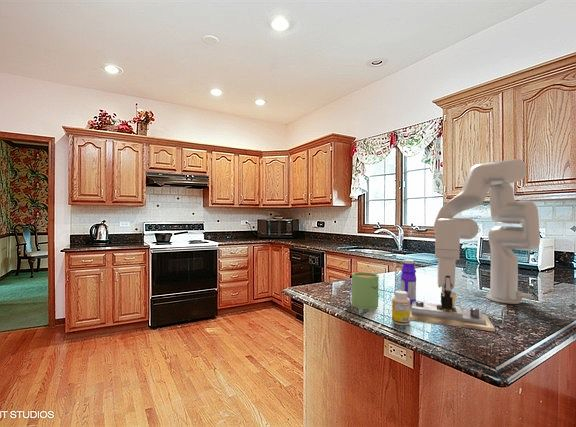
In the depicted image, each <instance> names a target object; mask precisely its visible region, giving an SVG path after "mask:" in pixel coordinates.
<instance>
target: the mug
mask: <svg viewBox="0 0 576 427" xmlns="http://www.w3.org/2000/svg"><path fill="white" fill-rule="evenodd" d="M379 278H380V277H379V274H377V273H374V272H373V273H372V272H363V271H362V272H361V271H360V272H359V271H358V272H352V274H351V306H353V307H354V308H357V309H361V310H362V309H363V310H374V308H375V309H377V307H379V297H380V295H379V286H380V283H379Z"/></svg>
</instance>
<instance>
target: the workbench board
mask: <svg viewBox="0 0 576 427" xmlns="http://www.w3.org/2000/svg"><path fill="white" fill-rule="evenodd" d="M482 315H483V317H484V319H485V320H486V325H484V324H477V323H470V322H462V321H455V320H448V319H440V318H433V317H426V316H419V315H412V305H410V321H419V322H425V323H433V324H439V325H440V324H441V325H445V324H446V325H447V326H452V325H453V327H460V328H467V329H475V330H481V331H489V332H494V333H495V331H496V328H495V326H494V325H493V323H492V321H491V320H490V318H489V317H488V315H487V314H482Z"/></svg>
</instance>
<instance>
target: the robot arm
mask: <svg viewBox="0 0 576 427" xmlns="http://www.w3.org/2000/svg"><path fill="white" fill-rule="evenodd" d="M527 171H528V170H527V164H526V163H525V161H523V160H522V159H519V158H517V159H515V158H514V159H506V160H499V161H490V162H484V163H483V162H482V163H478V164H475V165H472V167H470V169H469V171H468V173H467V175H466V177H465V180H464V182H463V185H462V187H461V189H460V192H459V193H458V194H457V195H456V196H454V197H452V198H451V199H450V200H448V202H446V203H445V204H444V205H443V206H442V207H441V208H440V210H439V211H438V214H437V216H436V218H435V221H434V224H433V231H434V234H435V237H434V239H435V242H434V243H435V244H434V245H435V246H434V247H435V249H434V258H435V259H438V260H437V282H436V283H437V287H438V289H439V288H440V289H441V292H440V303H441V302H442V308H443V309H451V310H452V301H453V298H452V292H453V290H454V288H455V286H456V284H455V282H456V261H458V260H460V255H461V254H460V252H461V251H460V250H461V249H460V244H461V241H460V240H472V239H474V238H475V237H476V236H477V235H478V233H479V224H478V223H477V222H476V221H475V220H474V219H472V218H465V217H464V218H462V217H461V218H460V217H455V216H456V215H458V214H460V213H462V212H465V211H468V210H470V209H472V208H476V207H478V206H480V205H481V204H483V203H484V202H485V200H486V196H487V194H488V196H489V207H490V217H491V220H492V221H493V222H495V223H497V224H506V225H499V226H493V227H492V228H490V229H489V231H488V234H487V235H488V236H487V238H488V244H489V249H490V283H489V284H490V293H487V294H485V297H486V300H487V299H488V300H490V301H493V302H497V303H502V304H509V305H518V304H521V303H523V299H528V300H532V298H533V296H532V294H531V293H525V292H521V291H519V290H518V289H519V288H518V286H519V285H518V280H519V276H518V275H519V271H518V270H519V266H518V265H519V261H518V257H517V255H516V254H515V252H514V251H513V250H516V251H517V250H518V251H535V250H537V249H538V248H540V247H539V246H540V242H541V239H540V238H541V237H540V236H541V234H540V222H539V221H540V218H539V210H538V207H537V204H535V202H533V201H531V200H515V194H514V193H515V192H514V187H513V186H512V184H513V183H517V182H521V180H523V179H524V178H525V177H526V174H527ZM507 224H509V225H507ZM513 224H514V225H521V226H514V225H513ZM510 225H511V226H510ZM512 225H513V226H512ZM442 295H443V296H442Z"/></svg>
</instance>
